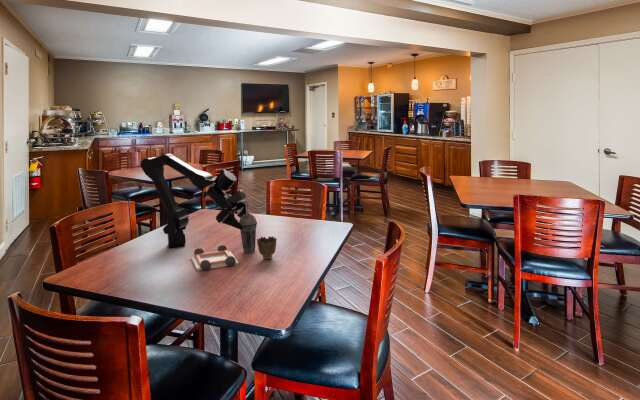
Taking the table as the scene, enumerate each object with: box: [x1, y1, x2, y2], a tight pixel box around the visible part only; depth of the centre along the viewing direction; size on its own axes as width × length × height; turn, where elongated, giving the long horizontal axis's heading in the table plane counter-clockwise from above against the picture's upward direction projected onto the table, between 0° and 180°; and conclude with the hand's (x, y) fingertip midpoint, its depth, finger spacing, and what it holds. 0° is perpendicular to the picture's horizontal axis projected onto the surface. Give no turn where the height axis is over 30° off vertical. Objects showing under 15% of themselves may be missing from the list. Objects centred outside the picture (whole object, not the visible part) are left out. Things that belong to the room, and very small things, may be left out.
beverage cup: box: [238, 204, 258, 254], centre depth 168 cm, size 7×7×20 cm
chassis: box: [190, 244, 240, 271], centre depth 158 cm, size 15×16×4 cm
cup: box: [256, 235, 277, 261], centre depth 160 cm, size 8×7×8 cm
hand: (247, 226), depth 168 cm, fingers open, 9 cm apart
